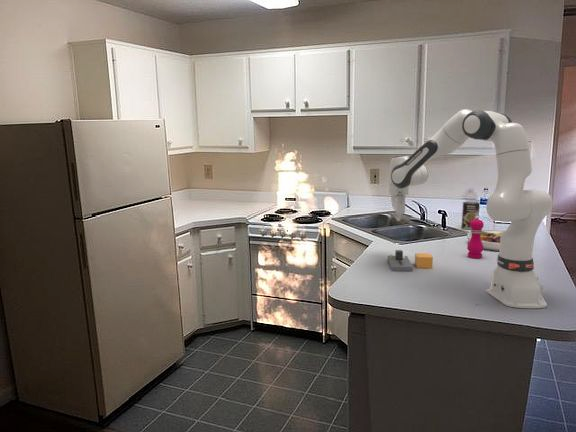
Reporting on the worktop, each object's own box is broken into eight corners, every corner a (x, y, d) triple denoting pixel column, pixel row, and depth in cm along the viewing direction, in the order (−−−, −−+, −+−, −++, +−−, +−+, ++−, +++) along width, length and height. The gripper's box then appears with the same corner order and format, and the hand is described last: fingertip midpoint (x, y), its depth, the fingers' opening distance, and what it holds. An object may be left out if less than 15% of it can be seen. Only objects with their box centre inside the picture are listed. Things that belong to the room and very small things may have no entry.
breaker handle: (402, 259, 212) (402, 251, 211) (396, 259, 212) (396, 251, 212) (401, 257, 215) (401, 250, 214) (395, 257, 215) (395, 250, 215)
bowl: (465, 237, 261) (466, 223, 260) (524, 240, 252) (525, 226, 251) (468, 251, 233) (469, 235, 232) (534, 255, 224) (536, 239, 223)
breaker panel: (412, 271, 202) (412, 265, 202) (391, 270, 203) (391, 264, 203) (406, 260, 219) (407, 254, 218) (387, 259, 220) (387, 254, 219)
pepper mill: (484, 259, 218) (487, 217, 214) (468, 258, 220) (470, 217, 216) (481, 255, 225) (483, 214, 221) (465, 254, 227) (467, 214, 223)
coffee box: (461, 229, 279) (463, 203, 276) (461, 227, 285) (462, 201, 282) (478, 230, 276) (479, 203, 273) (477, 228, 282) (478, 202, 279)
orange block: (432, 268, 206) (432, 257, 205) (417, 268, 207) (417, 257, 206) (429, 263, 212) (429, 253, 212) (414, 263, 213) (415, 253, 212)
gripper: (408, 193, 205) (407, 224, 207) (402, 187, 225) (401, 215, 227) (394, 193, 205) (393, 224, 208) (389, 187, 225) (388, 215, 228)
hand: (397, 219), depth 218 cm, fingers open, 3 cm apart
